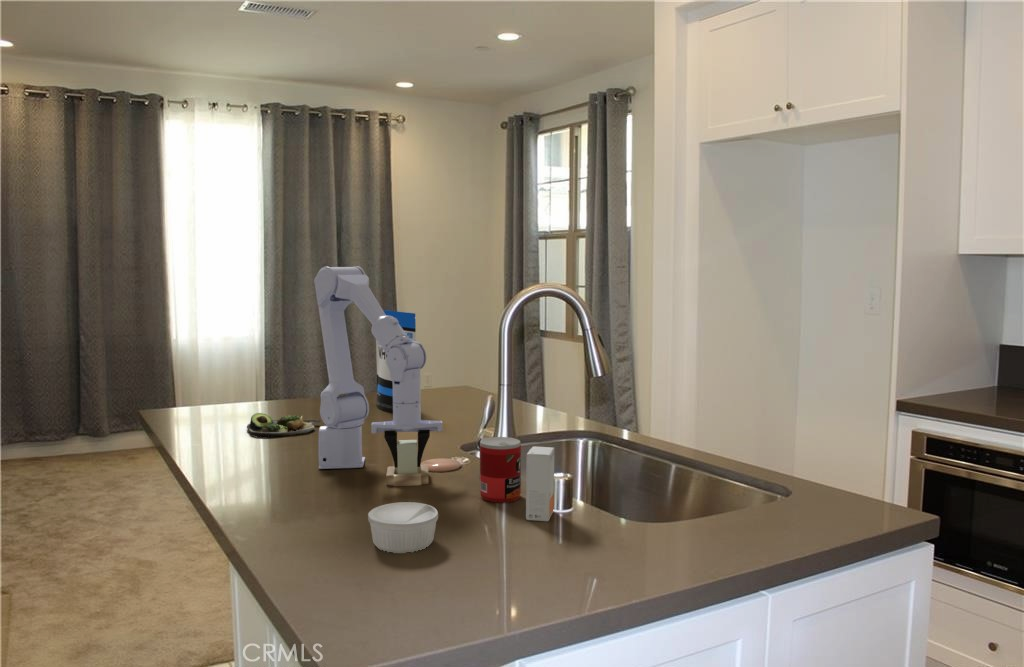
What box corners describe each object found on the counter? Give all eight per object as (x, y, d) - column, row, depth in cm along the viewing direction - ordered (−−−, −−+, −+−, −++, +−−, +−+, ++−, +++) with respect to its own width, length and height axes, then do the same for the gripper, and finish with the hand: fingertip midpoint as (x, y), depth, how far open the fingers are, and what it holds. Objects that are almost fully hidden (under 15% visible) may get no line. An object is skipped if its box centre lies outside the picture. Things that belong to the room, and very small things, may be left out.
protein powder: (390, 401, 255) (388, 308, 252) (430, 413, 236) (429, 312, 233) (363, 404, 249) (361, 309, 246) (402, 417, 230) (400, 314, 227)
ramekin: (444, 552, 124) (444, 519, 124) (372, 560, 121) (372, 526, 121) (431, 529, 135) (431, 499, 134) (365, 535, 132) (364, 505, 131)
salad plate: (314, 421, 226) (313, 405, 225) (329, 433, 210) (328, 416, 209) (243, 427, 217) (242, 411, 217) (253, 441, 201) (252, 423, 201)
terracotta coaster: (420, 472, 170) (419, 469, 170) (420, 461, 179) (420, 459, 179) (461, 471, 171) (461, 468, 171) (459, 460, 180) (459, 457, 180)
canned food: (512, 505, 148) (512, 447, 147) (473, 500, 151) (473, 443, 150) (526, 493, 155) (526, 438, 154) (488, 489, 158) (488, 435, 157)
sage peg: (397, 482, 162) (397, 444, 162) (398, 477, 166) (397, 440, 166) (417, 482, 163) (417, 444, 162) (417, 476, 167) (417, 439, 166)
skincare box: (549, 522, 138) (549, 455, 137) (525, 520, 139) (525, 453, 138) (554, 511, 144) (555, 446, 143) (531, 509, 145) (531, 445, 144)
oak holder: (386, 486, 160) (386, 476, 160) (388, 474, 168) (387, 465, 168) (428, 484, 161) (428, 475, 161) (428, 473, 169) (428, 464, 169)
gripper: (369, 405, 158) (371, 472, 160) (442, 404, 160) (443, 470, 161) (372, 399, 165) (373, 463, 167) (441, 398, 167) (442, 461, 168)
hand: (407, 466), depth 164 cm, fingers closed on sage peg, 4 cm apart
